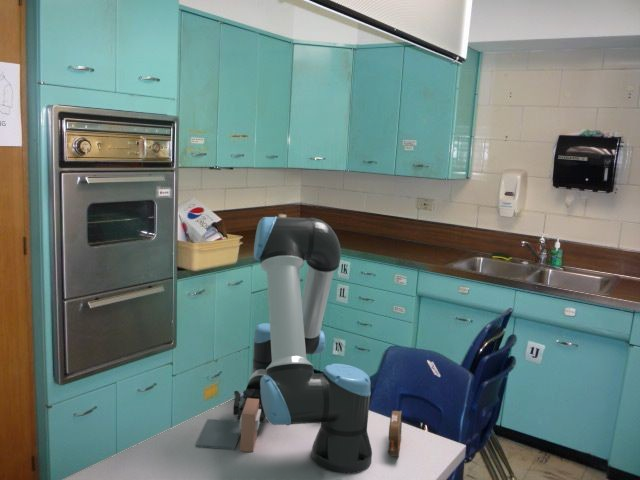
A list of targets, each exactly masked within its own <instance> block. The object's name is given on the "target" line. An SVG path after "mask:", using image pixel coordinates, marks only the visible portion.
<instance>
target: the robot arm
mask: <svg viewBox="0 0 640 480" xmlns="http://www.w3.org/2000/svg"><path fill="white" fill-rule="evenodd" d="M341 256H342V251H341V244H340V241H339V239H338V236H337V234H336V233H335V231H334V229H332V227H331V226H330V225H329V224H328V223H327V222H325V221H324V220H322V219H318V218H315V217H286V216H285V217H284V216H281V217H280V216H265V217H262V218H261V219H259V221H258V224H257V228H256V231H255V237H254V246H253V259H254V260H256V261H260V268H261V269H262V270H263V271H265V272H266V280H267V282H266V283H267V298H268V316H269V319H268V320H269V322H263V323H259V324H257V325H256V326H255V328H254V334H253V354H252V355H253V357H252V366H251V367H252V368H251V369H252V370H251V371H252V372H251V375H250V378H249V379H248V383H247V385H246V389H245V390H243V392H240V391H239V390H235V391H234V392H233V393H234V394H233V407H232V408H233V411H232V413H233V416H237V421H240V427H239V429H241V423H242V412H243V409H244V406H245V403H246V400H247V398H252V399H259V409H258V413H257V416H256V420H255V430H256V431H259V428H260V423H264V422H265V421H266V420H265V419H267V421H268V422H269V423H270V424H271V425H274V426H284V425H285V426H288V427H289V426H291V425H305V424H316V423H320V427H319V430H318V432H317V434H316V436H315V439H314V441H313V444H312V447H311V459H312V461H313V462H314V463H315V464H316V465H317V466H318V467H320V468H322V469H323V470H326V471H328V472H332V473H336V474H343V475H344V474H345V475H346V474H355V473H359V472H363V471H364V470H366V469H367V468H369V467H370V465H371V464H372V460H373V459H372V457H373V450H372V445H371V442H370V437H369V435H368V434H369V433H368V423H369V422H368V421H369V412H370V411H369V410H370V400H371V399H370V398H371V393H372V391H371V379H370V375H368V374H367V373H366V372H365V371H364V370H363V369H361V368H358V367H355V366H354V365H353V366H352V365H350V364H349V365H348V364H343V363H331V364H328V365H326V366H325V367H324V369H323V372H321V373H314V364H313V363H312V362H311V361H309V360H308V358H307V356H308V355H310V356H312V355H320V354H322V353H324V351H325V348H326V336H325V332H324V331H323V330H321V329H322V326H323V320H324V317H325V313H326V308H327V304H328V299H329V294H330V291H331V290H330V289H331V286H332V281H333V277H334V273H335V271H337V270H338V268H339V267H340V263H341V259H342V258H341ZM305 263H306V265H307V269H306V270H307V271H306V276H305V281H304V287H303V291H302V290H301V278H300V277H301V276H300V270H301V269H302V268H303V267H304V265H305ZM242 399H244V401H243V402H242V403H241V401H242ZM240 403H241V404H240Z"/></svg>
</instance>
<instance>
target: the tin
mask: <svg viewBox="0 0 640 480" xmlns="http://www.w3.org/2000/svg"><path fill="white" fill-rule="evenodd" d="M402 414H403V412H402V410H391V415H390V419H389V426H388V427H389V428H388V455H389V456H392V457H398V458H399V457H400V449H401V443H402V426H403V425H402V423H403V418H402V417H403V415H402Z"/></svg>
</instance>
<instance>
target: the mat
mask: <svg viewBox="0 0 640 480" xmlns="http://www.w3.org/2000/svg"><path fill="white" fill-rule="evenodd" d="M239 427H240V420H231V419H230V420H229V419H215V418H207V419H206V422H205V424H204V426H203V428H202V430H201V432H200V435H199V437H198V439H197V441H196V443H195V447H196V448H207V449H221V450H234V451H235V450H236V448H237V445H238V441H239V439H240V437H241V429H239Z"/></svg>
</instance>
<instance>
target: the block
mask: <svg viewBox="0 0 640 480" xmlns="http://www.w3.org/2000/svg"><path fill="white" fill-rule="evenodd" d="M258 409H260V404H259V399H252V398H247V400H246V403H245V406H244V409H243V412H242V423H241V433H240V446H239V448H240V452H252V453H253V452H254V449H255V447H256V446H255V445H256V442H257V438H258V431H259V430H258V431H256V430H255V420H256V416H257V413H258Z"/></svg>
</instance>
